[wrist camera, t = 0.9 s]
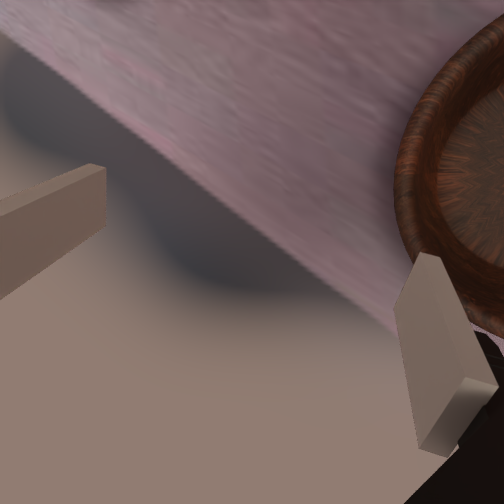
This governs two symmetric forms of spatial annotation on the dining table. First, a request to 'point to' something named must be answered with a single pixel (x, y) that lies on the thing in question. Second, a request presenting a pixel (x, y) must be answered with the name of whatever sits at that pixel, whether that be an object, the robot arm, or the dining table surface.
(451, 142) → the wooden bowl
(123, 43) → the dining table surface
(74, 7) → the dining table surface
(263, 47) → the dining table surface
